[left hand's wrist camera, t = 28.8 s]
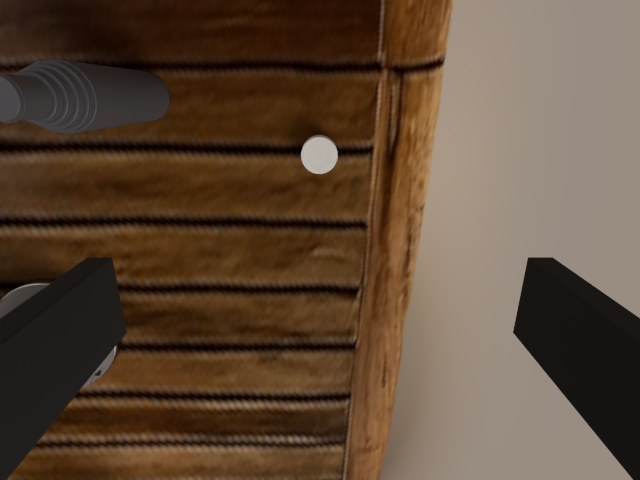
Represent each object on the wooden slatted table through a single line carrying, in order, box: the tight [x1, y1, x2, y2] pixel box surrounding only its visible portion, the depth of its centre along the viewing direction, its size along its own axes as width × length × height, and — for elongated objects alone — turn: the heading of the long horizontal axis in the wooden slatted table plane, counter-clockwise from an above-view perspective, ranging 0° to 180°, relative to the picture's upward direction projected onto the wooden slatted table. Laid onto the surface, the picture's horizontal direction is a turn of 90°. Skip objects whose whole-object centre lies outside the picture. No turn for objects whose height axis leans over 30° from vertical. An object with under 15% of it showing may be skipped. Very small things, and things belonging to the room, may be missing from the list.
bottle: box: [0, 59, 170, 133], centre depth 32 cm, size 5×5×21 cm
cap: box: [301, 135, 338, 174], centre depth 43 cm, size 4×4×2 cm
